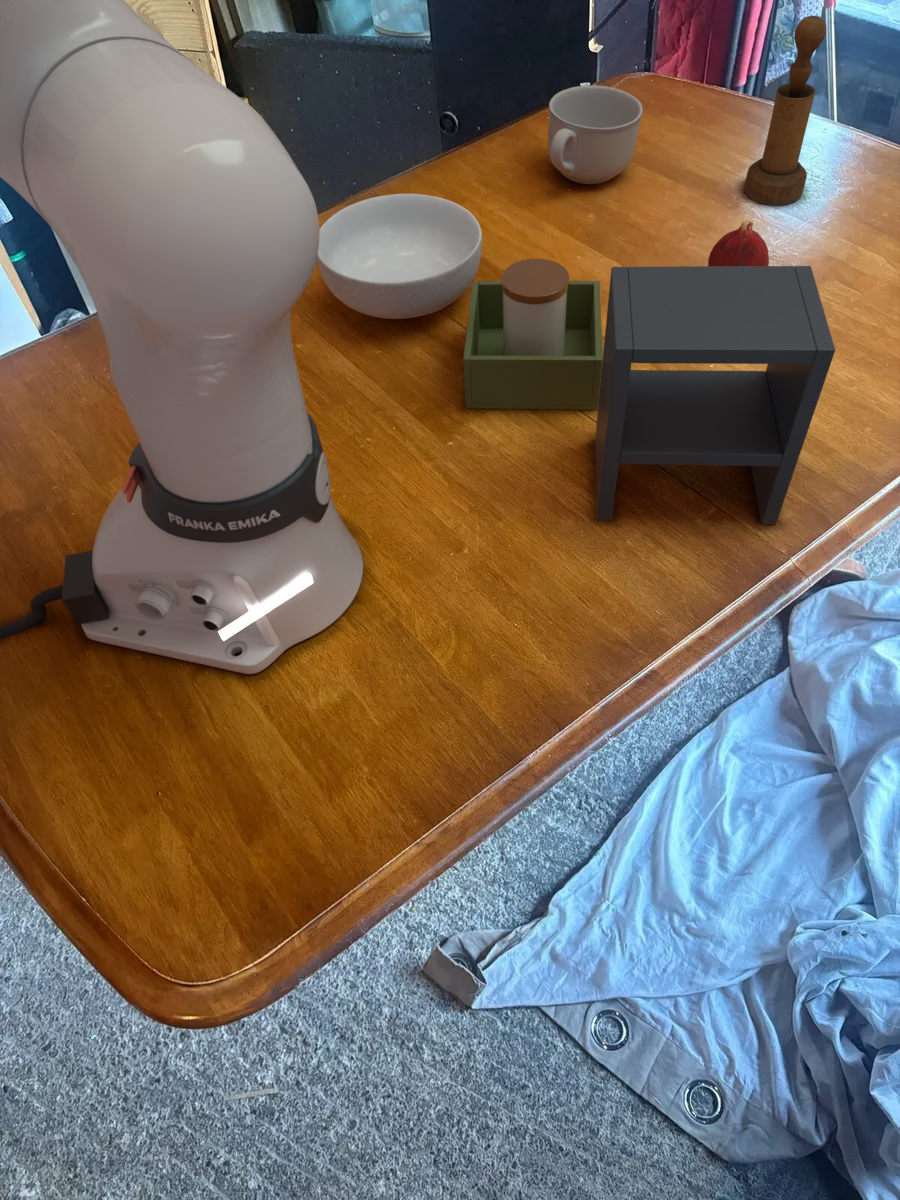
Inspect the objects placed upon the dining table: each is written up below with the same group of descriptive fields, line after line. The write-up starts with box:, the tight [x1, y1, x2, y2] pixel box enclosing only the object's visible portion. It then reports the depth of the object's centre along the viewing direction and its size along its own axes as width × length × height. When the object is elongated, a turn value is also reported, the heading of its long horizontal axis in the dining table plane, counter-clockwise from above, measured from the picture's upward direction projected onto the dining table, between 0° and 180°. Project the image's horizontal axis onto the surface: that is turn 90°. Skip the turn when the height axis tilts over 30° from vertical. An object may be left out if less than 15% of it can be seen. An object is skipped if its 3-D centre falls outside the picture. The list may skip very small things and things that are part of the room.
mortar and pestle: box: [743, 15, 827, 206], centre depth 97 cm, size 7×6×18 cm
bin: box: [462, 280, 603, 411], centre depth 84 cm, size 12×12×6 cm
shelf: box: [594, 265, 836, 525], centre depth 69 cm, size 14×10×17 cm
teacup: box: [547, 84, 644, 185], centre depth 105 cm, size 14×11×8 cm
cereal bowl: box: [316, 193, 483, 320], centre depth 92 cm, size 17×17×7 cm
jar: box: [500, 258, 570, 356], centre depth 82 cm, size 6×6×9 cm
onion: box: [707, 219, 770, 266], centre depth 89 cm, size 6×6×8 cm
